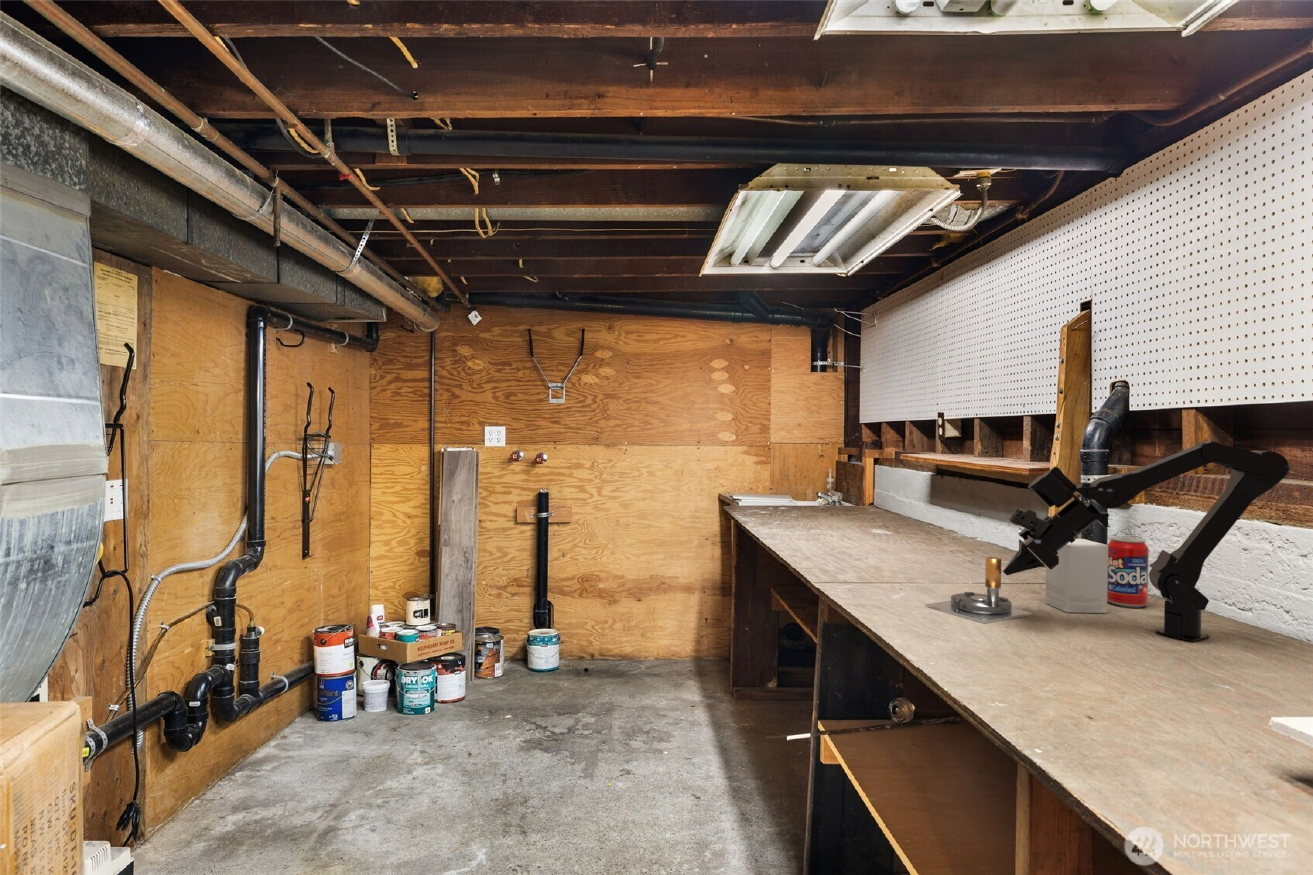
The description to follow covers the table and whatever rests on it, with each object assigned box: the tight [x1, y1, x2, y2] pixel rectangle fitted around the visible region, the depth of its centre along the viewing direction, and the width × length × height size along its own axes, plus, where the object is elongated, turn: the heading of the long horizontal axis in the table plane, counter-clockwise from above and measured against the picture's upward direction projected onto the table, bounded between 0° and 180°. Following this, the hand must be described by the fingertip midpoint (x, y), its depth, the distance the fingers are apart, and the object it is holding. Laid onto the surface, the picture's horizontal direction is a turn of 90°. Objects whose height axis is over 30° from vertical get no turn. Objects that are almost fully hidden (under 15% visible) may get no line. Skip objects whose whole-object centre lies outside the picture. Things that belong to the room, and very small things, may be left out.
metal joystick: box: [950, 556, 1013, 614], centre depth 152 cm, size 12×12×12 cm
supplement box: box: [1045, 538, 1108, 614], centre depth 155 cm, size 9×9×15 cm
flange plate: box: [924, 599, 1033, 624], centre depth 152 cm, size 15×15×3 cm
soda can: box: [1106, 536, 1150, 609], centre depth 159 cm, size 8×8×15 cm
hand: (1004, 573), depth 146 cm, fingers closed
